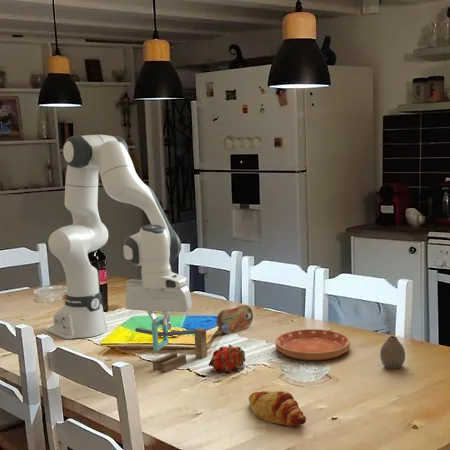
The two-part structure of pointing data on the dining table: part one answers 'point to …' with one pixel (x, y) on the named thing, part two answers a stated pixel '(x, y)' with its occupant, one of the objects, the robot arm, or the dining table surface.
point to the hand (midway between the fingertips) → (159, 324)
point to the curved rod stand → (199, 334)
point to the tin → (234, 319)
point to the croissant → (276, 408)
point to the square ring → (157, 345)
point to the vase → (392, 353)
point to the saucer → (313, 344)
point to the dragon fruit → (227, 359)
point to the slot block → (169, 362)
